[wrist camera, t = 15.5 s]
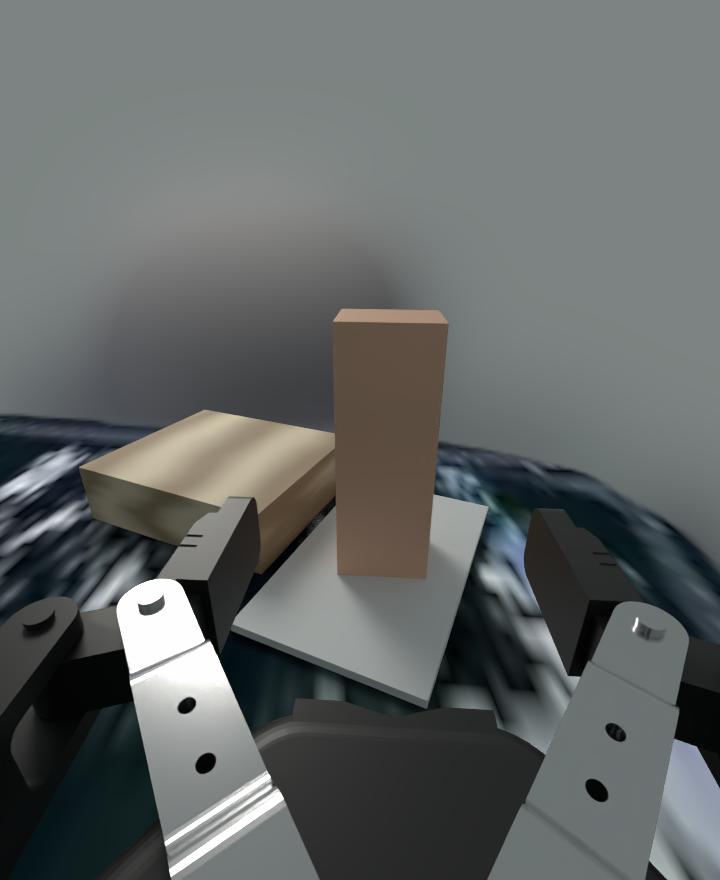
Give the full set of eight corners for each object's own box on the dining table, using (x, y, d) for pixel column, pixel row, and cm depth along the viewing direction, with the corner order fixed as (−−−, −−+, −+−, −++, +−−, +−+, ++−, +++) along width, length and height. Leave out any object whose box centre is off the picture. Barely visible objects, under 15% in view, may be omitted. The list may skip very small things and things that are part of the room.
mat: (231, 630, 22) (229, 623, 22) (359, 484, 35) (360, 478, 35) (426, 709, 18) (427, 700, 18) (487, 512, 32) (488, 506, 32)
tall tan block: (337, 574, 25) (332, 321, 19) (344, 532, 29) (342, 308, 23) (426, 578, 25) (448, 323, 19) (421, 535, 28) (439, 310, 23)
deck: (93, 518, 31) (78, 467, 29) (210, 450, 41) (204, 409, 39) (261, 574, 26) (255, 516, 24) (348, 481, 36) (348, 436, 34)
